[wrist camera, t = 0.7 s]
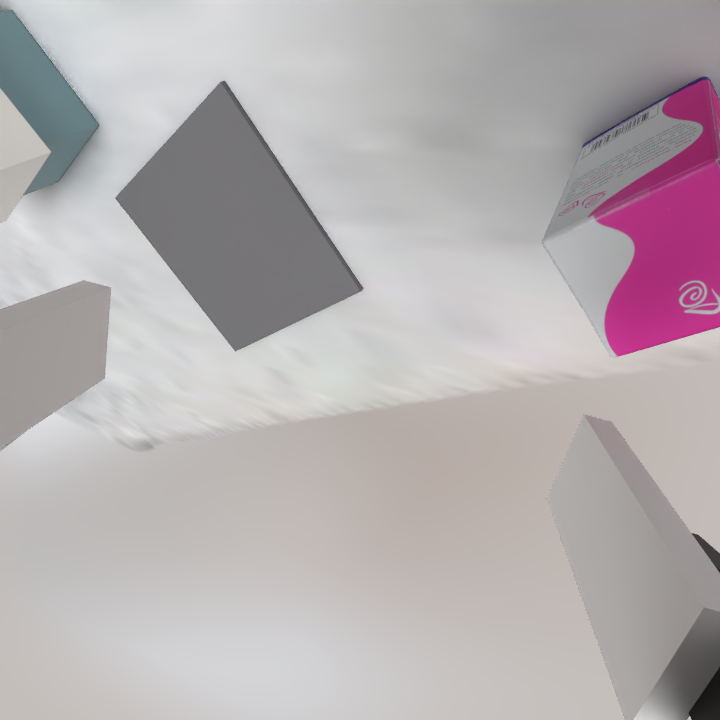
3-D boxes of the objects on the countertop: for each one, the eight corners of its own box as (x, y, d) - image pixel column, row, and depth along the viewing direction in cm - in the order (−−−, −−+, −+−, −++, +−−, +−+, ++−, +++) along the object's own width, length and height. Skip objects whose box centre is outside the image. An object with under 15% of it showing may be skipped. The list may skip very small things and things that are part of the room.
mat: (224, 80, 34) (220, 82, 34) (363, 288, 39) (360, 291, 38) (118, 196, 45) (115, 198, 44) (237, 349, 49) (235, 351, 49)
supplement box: (631, 241, 29) (606, 364, 21) (580, 143, 27) (531, 235, 19) (760, 188, 25) (789, 313, 17) (710, 70, 23) (715, 147, 15)
